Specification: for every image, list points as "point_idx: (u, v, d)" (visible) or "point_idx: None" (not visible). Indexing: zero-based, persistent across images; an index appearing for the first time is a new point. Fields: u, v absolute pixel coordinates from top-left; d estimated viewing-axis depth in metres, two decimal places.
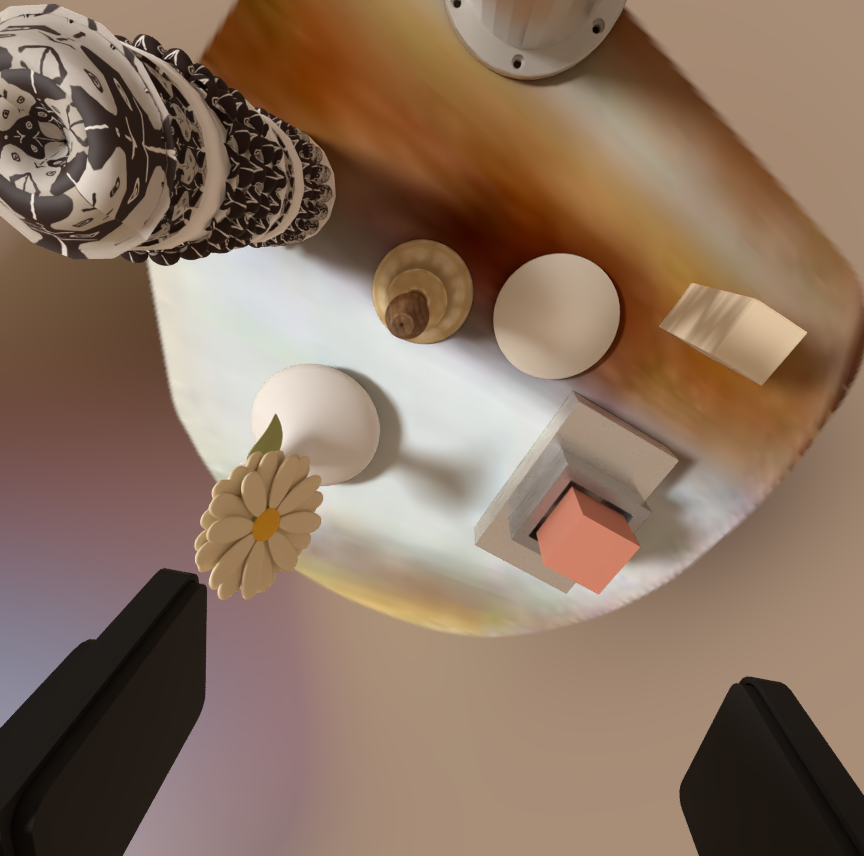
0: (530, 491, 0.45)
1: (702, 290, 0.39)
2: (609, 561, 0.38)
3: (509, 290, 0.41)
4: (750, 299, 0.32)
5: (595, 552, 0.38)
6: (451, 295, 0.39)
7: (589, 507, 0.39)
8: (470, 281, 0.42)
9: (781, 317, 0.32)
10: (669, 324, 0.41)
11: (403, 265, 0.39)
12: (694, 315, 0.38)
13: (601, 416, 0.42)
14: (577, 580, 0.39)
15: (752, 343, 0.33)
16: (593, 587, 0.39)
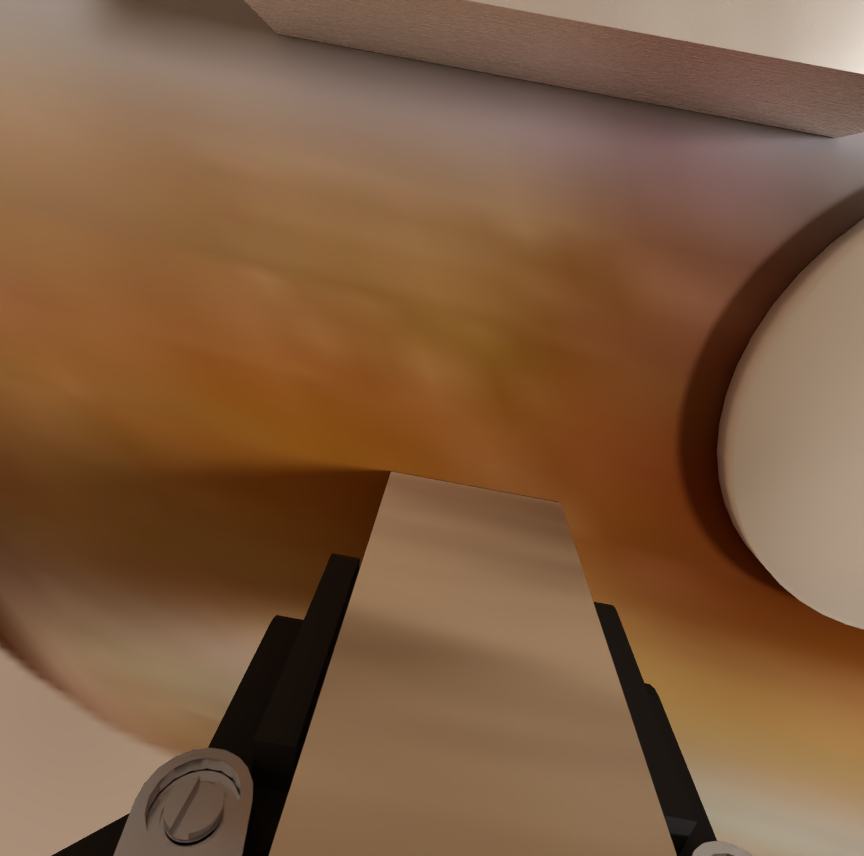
0: None
1: None
2: None
3: None
4: None
5: None
6: None
7: None
8: None
9: None
10: None
11: None
12: None
13: (819, 54, 0.06)
14: None
15: None
16: None
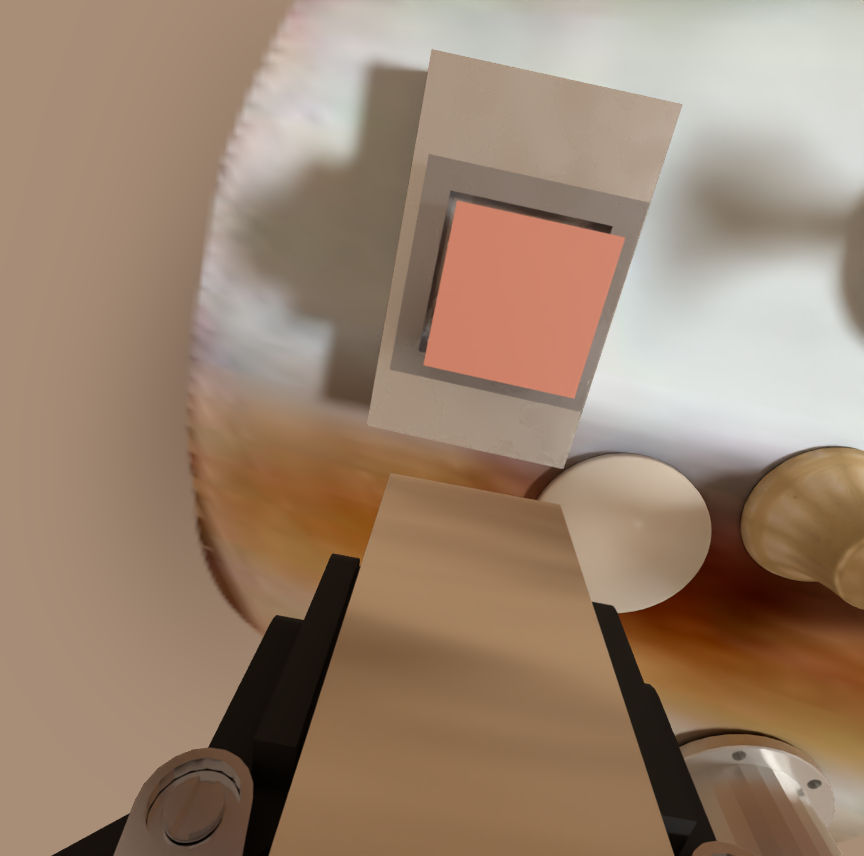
0: None
1: None
2: (471, 306, 0.16)
3: (695, 558, 0.30)
4: None
5: (512, 317, 0.16)
6: (809, 564, 0.26)
7: None
8: (751, 550, 0.30)
9: None
10: None
11: None
12: None
13: (519, 457, 0.26)
14: (525, 222, 0.15)
15: None
16: (478, 217, 0.15)
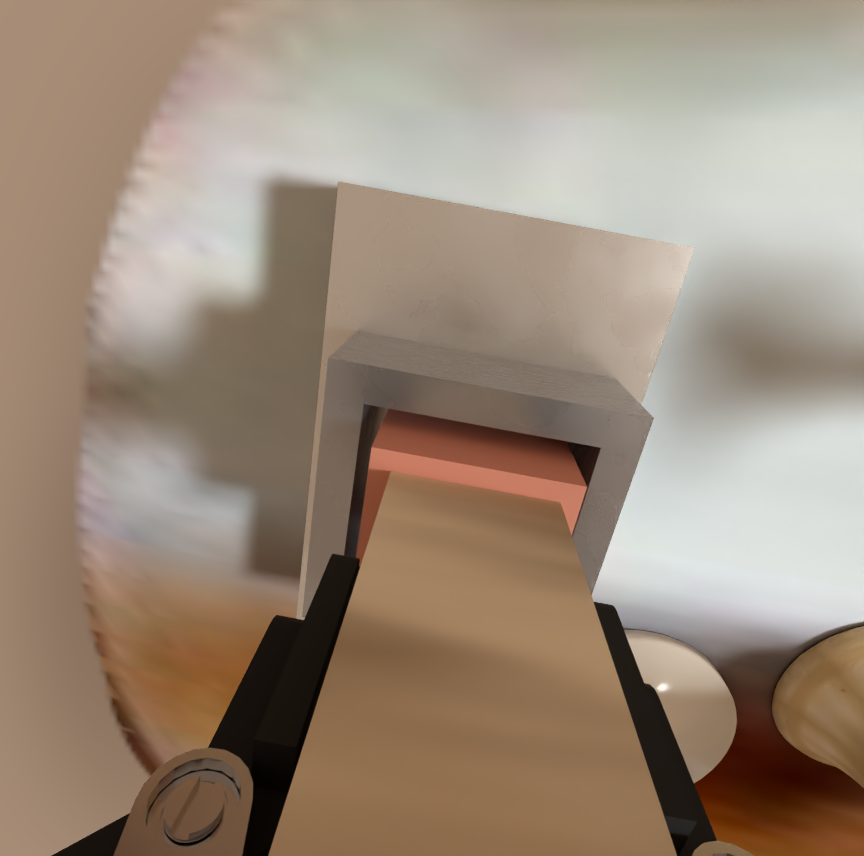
0: None
1: None
2: None
3: (717, 747, 0.24)
4: None
5: None
6: None
7: None
8: (785, 735, 0.24)
9: None
10: None
11: None
12: None
13: None
14: (459, 471, 0.12)
15: None
16: (400, 465, 0.12)
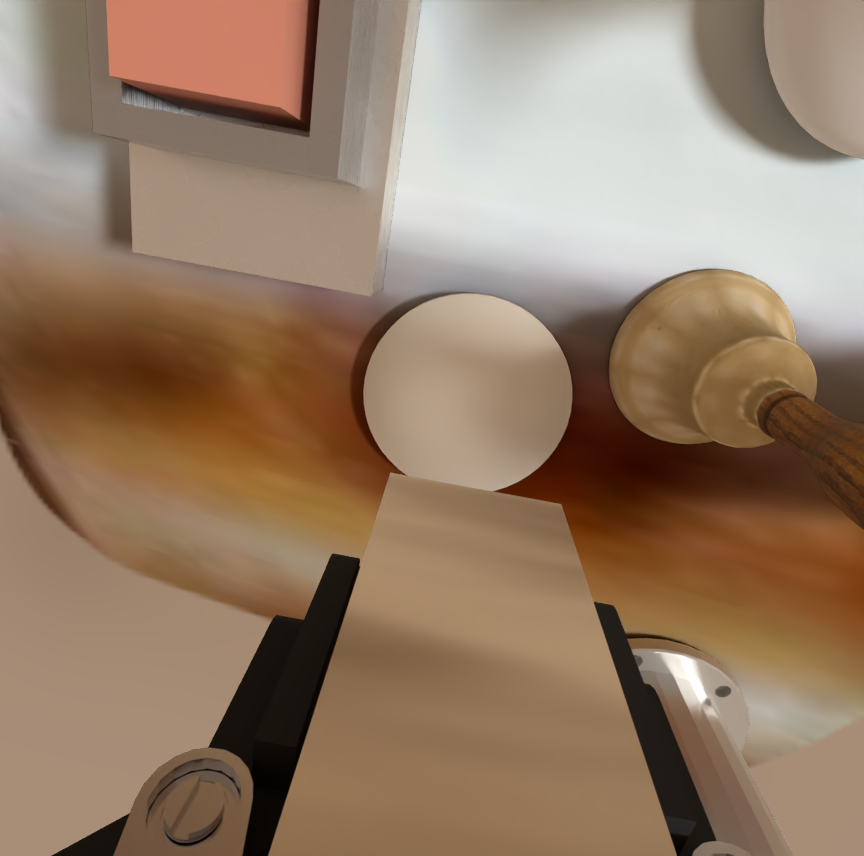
0: (371, 39, 0.18)
1: None
2: None
3: (557, 419, 0.25)
4: None
5: (192, 3, 0.14)
6: (672, 403, 0.22)
7: (269, 115, 0.17)
8: (622, 408, 0.25)
9: None
10: None
11: None
12: None
13: (316, 283, 0.21)
14: None
15: None
16: None
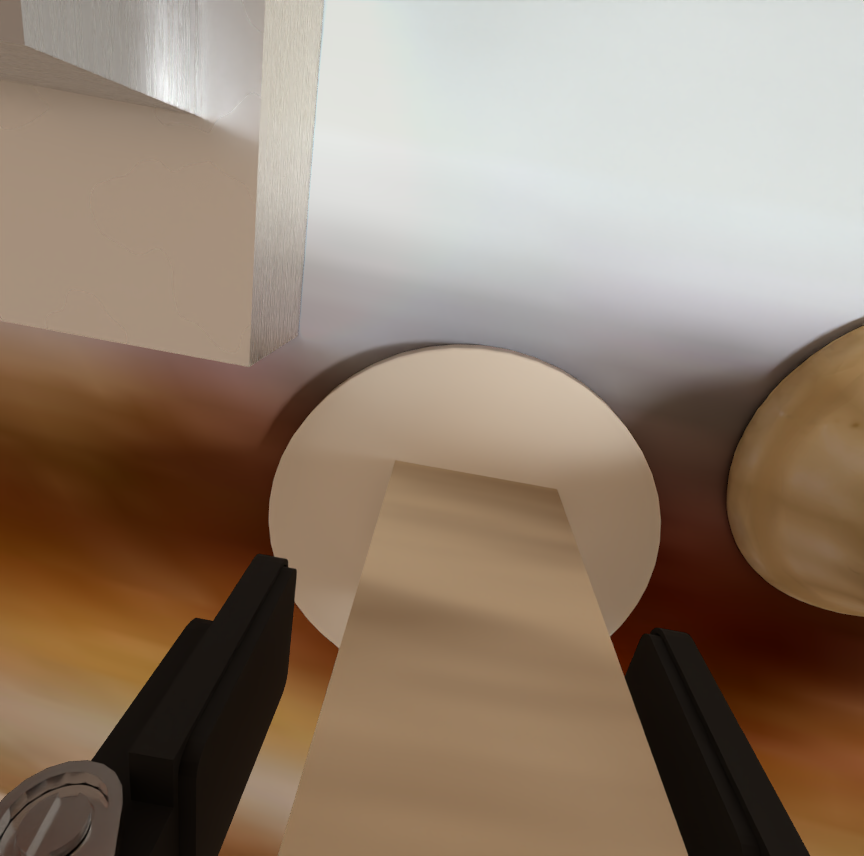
0: None
1: None
2: None
3: (629, 575, 0.13)
4: None
5: None
6: None
7: None
8: (750, 555, 0.13)
9: None
10: None
11: None
12: None
13: (129, 339, 0.10)
14: None
15: None
16: None
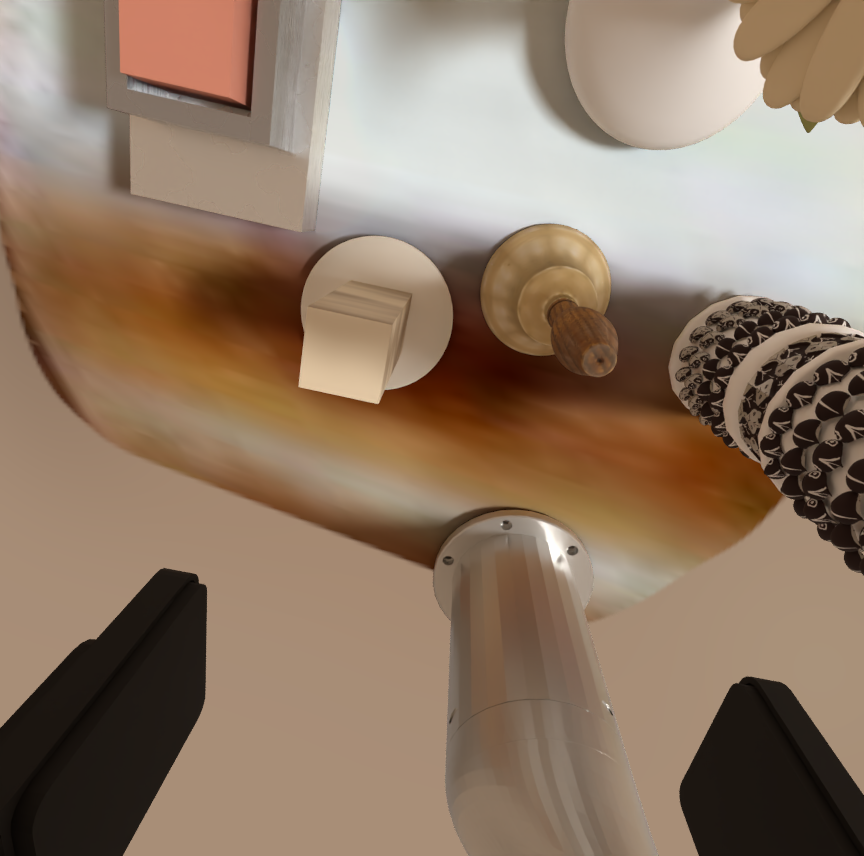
0: (296, 51, 0.26)
1: (397, 358, 0.32)
2: (144, 20, 0.23)
3: (442, 332, 0.34)
4: (380, 397, 0.26)
5: (173, 29, 0.23)
6: (513, 317, 0.31)
7: (225, 100, 0.26)
8: (490, 326, 0.34)
9: (338, 393, 0.26)
10: (408, 305, 0.32)
11: None
12: (399, 335, 0.30)
13: (262, 221, 0.30)
14: None
15: (351, 354, 0.25)
16: None
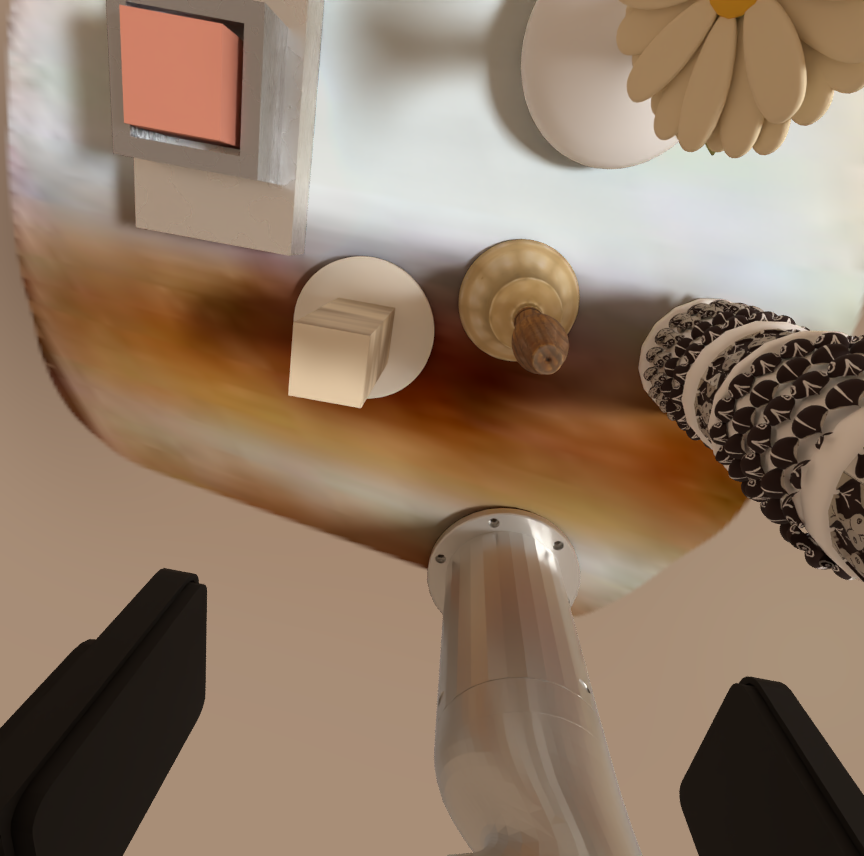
0: (280, 96, 0.30)
1: (382, 367, 0.35)
2: (143, 77, 0.26)
3: (425, 342, 0.37)
4: (363, 402, 0.29)
5: (170, 84, 0.26)
6: (487, 325, 0.34)
7: (217, 142, 0.29)
8: (469, 335, 0.37)
9: (324, 400, 0.28)
10: (391, 318, 0.35)
11: None
12: (382, 346, 0.33)
13: (255, 247, 0.33)
14: (162, 17, 0.25)
15: (334, 364, 0.28)
16: (134, 15, 0.25)
